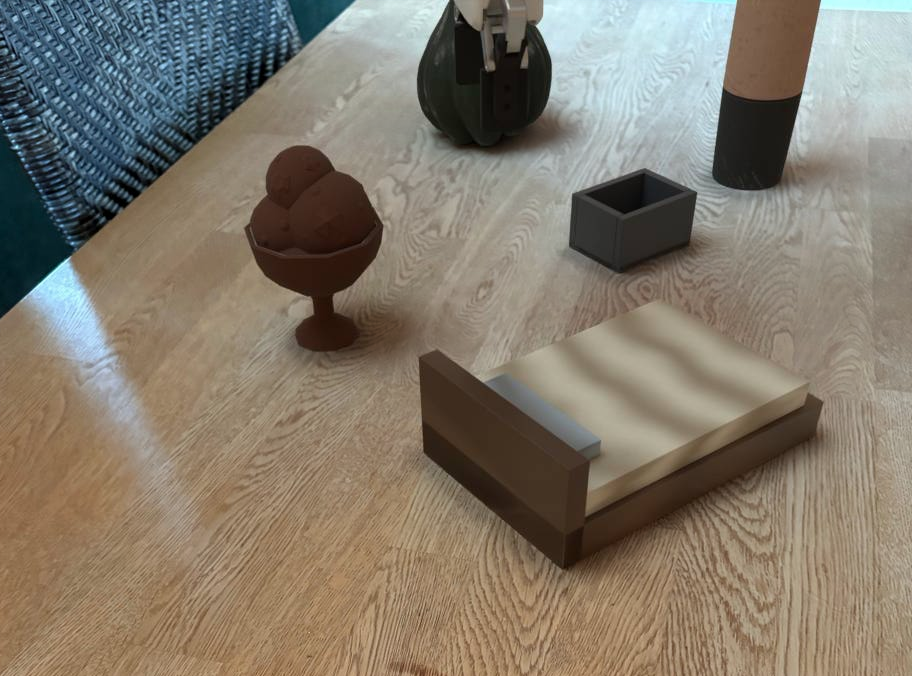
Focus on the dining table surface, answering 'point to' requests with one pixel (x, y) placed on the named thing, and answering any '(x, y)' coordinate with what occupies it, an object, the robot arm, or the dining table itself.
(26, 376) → the dining table surface
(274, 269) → the ice cream bowl
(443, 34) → the squash
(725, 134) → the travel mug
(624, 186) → the basket
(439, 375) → the bed
